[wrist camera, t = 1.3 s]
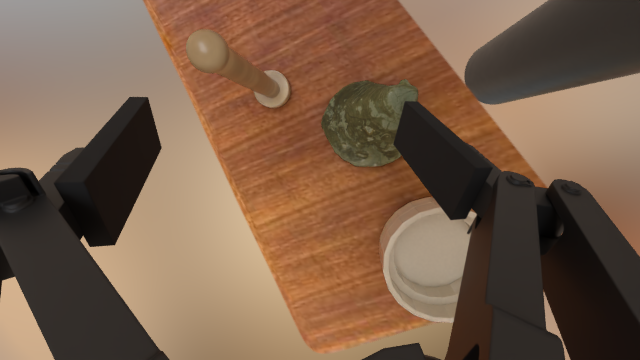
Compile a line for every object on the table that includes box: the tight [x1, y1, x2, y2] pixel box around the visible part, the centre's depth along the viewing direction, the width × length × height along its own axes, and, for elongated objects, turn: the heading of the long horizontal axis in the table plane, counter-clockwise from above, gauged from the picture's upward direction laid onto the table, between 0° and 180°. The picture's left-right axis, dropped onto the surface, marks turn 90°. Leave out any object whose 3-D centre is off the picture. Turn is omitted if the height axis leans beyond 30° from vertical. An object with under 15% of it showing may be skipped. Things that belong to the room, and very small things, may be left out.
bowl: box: [379, 197, 477, 323], centre depth 35 cm, size 13×13×6 cm
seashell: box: [321, 79, 418, 167], centre depth 34 cm, size 10×7×10 cm
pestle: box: [186, 29, 291, 108], centre depth 28 cm, size 4×4×18 cm
